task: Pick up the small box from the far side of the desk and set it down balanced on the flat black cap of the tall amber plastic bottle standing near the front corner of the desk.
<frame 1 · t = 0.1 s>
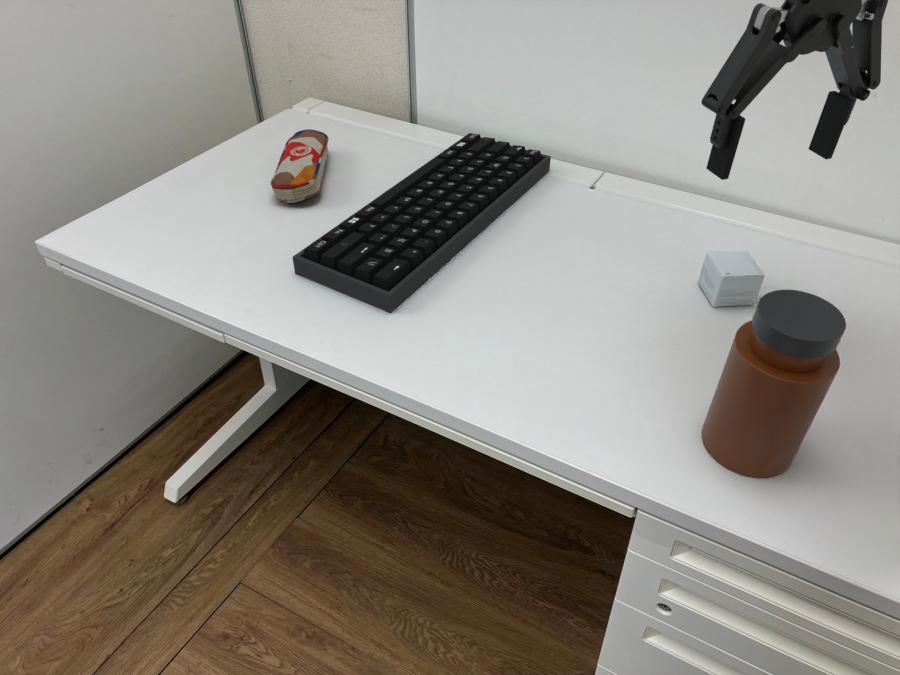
hand: (769, 163, 76), 20 cm above the table, tool pointing down, fingers open, 13 cm apart
small box: (724, 294, 92), on the table
pencil case: (304, 178, 115), on the table
bottle: (746, 443, 72), on the table
computer keyboard: (435, 218, 106), on the table
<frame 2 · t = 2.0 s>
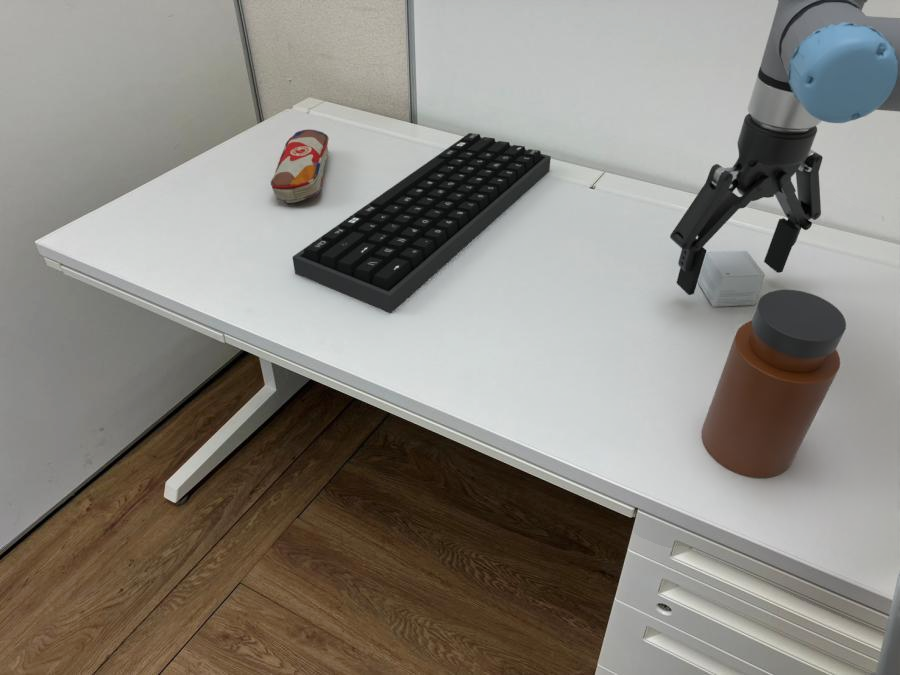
hand: (729, 277, 90), 2 cm above the table, tool pointing down, fingers open, 13 cm apart
nothing on the table moved.
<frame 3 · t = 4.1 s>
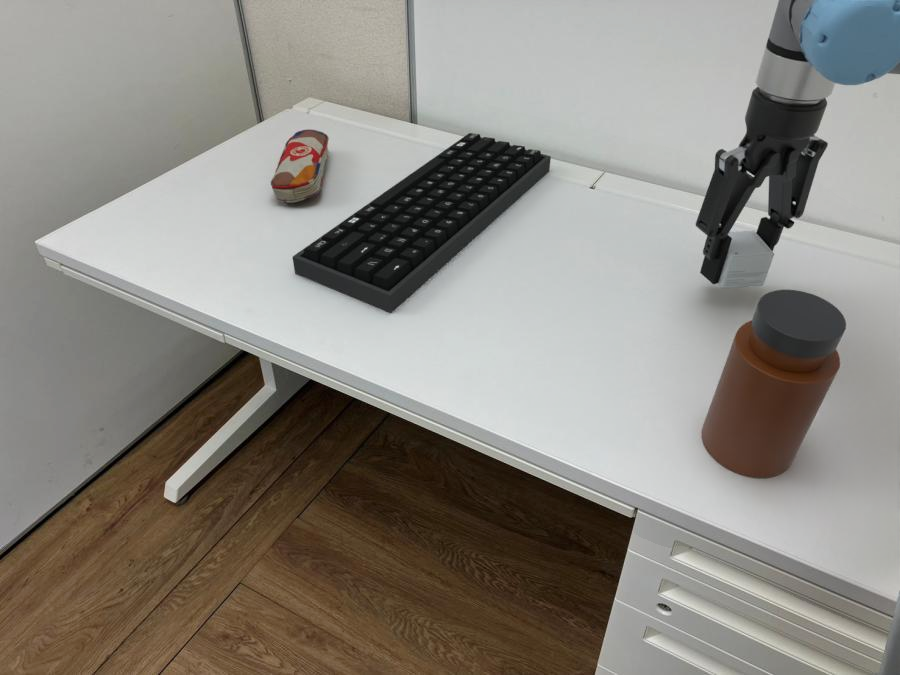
hand: (732, 272, 89), 4 cm above the table, tool pointing down, fingers closed on small box, 6 cm apart
small box: (732, 276, 89), point 3 cm above the table, touching gripper
everything else where it was.
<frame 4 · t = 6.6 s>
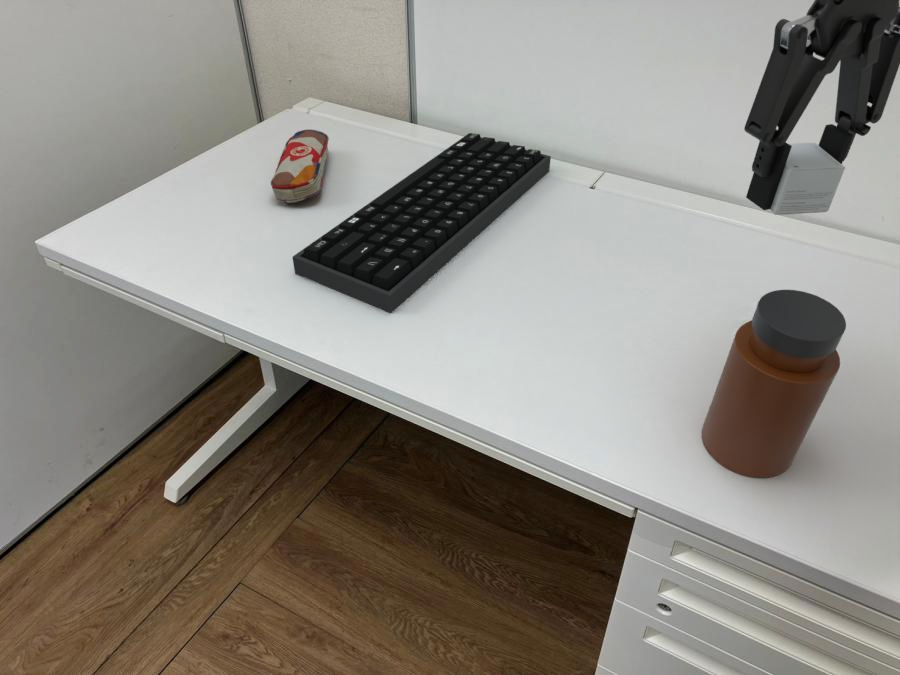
hand: (787, 196, 70), 20 cm above the table, tool pointing down, fingers closed on small box, 6 cm apart
small box: (787, 202, 70), point 20 cm above the table, touching gripper
everything else where it was.
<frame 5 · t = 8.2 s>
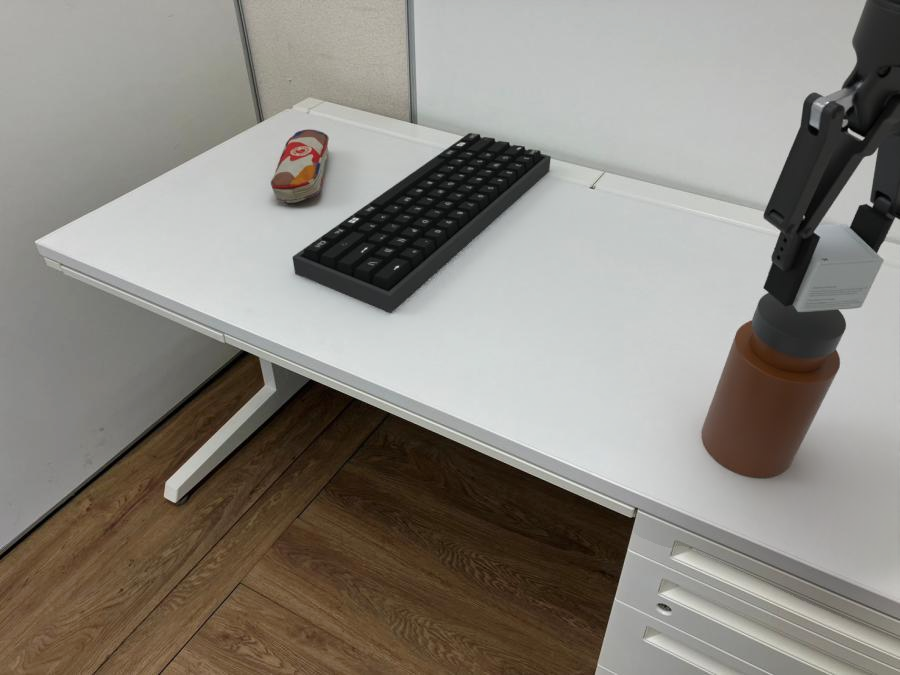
hand: (812, 287, 59), 20 cm above the table, tool pointing down, fingers closed on small box, 6 cm apart
small box: (811, 293, 59), point 19 cm above the table, touching gripper
everything else where it was.
when the fingers open (17 cm above the table, at t = 9.3 s): small box stays where it is, resting on bottle.
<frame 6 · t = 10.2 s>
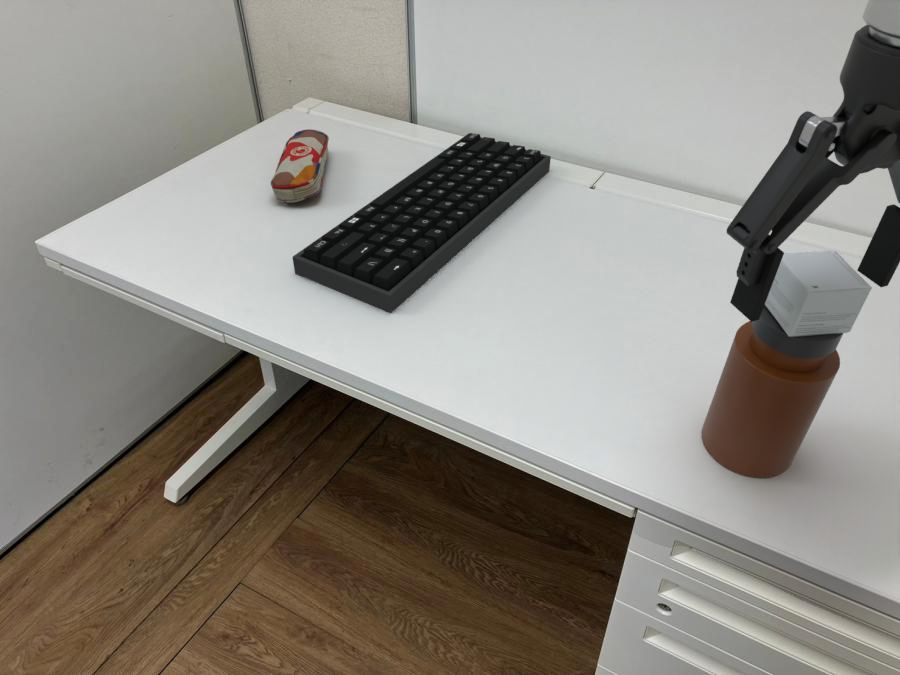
hand: (810, 294, 60), 19 cm above the table, tool pointing down, fingers open, 13 cm apart
small box: (802, 317, 61), point 17 cm above the table, touching bottle
everything else where it was.
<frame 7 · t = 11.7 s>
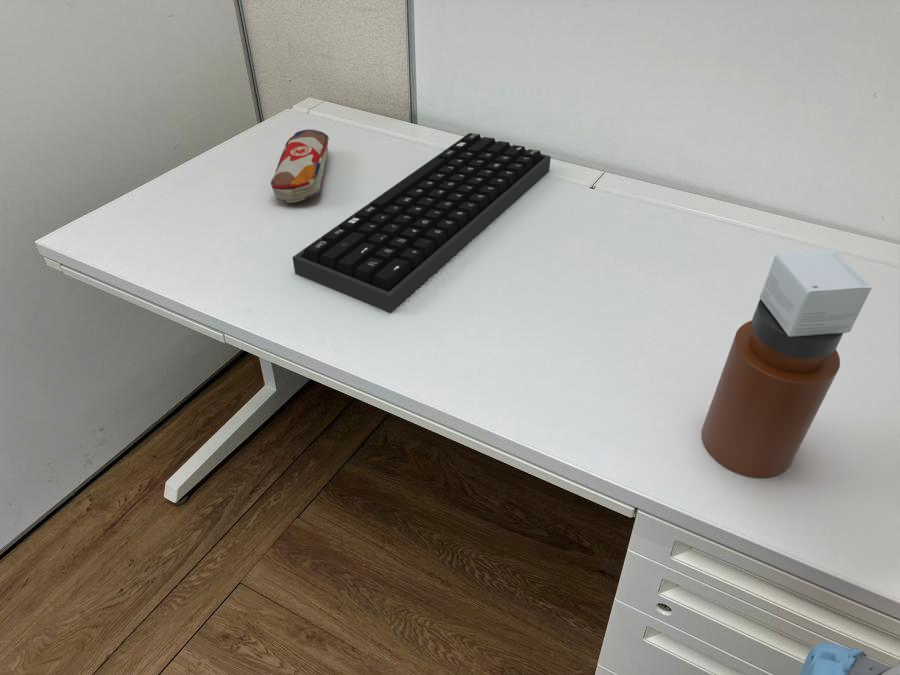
nothing on the table moved.
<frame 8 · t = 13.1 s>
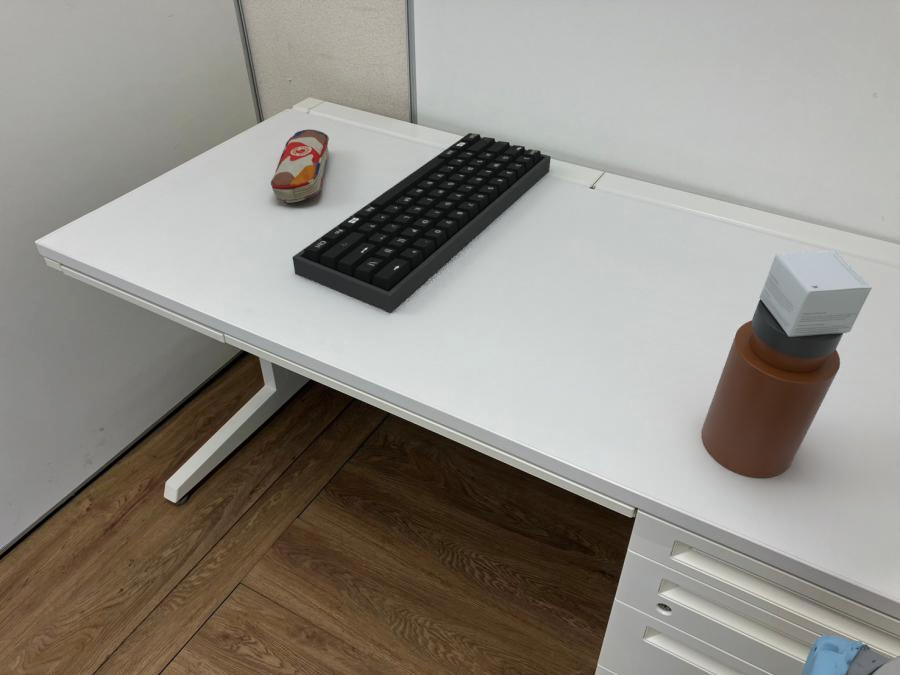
nothing on the table moved.
at the end: small box 0.2 cm off-centre on the bottle, point 16.8 cm above the bottle's base; small box tilted 0°; the gripper is holding nothing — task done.
